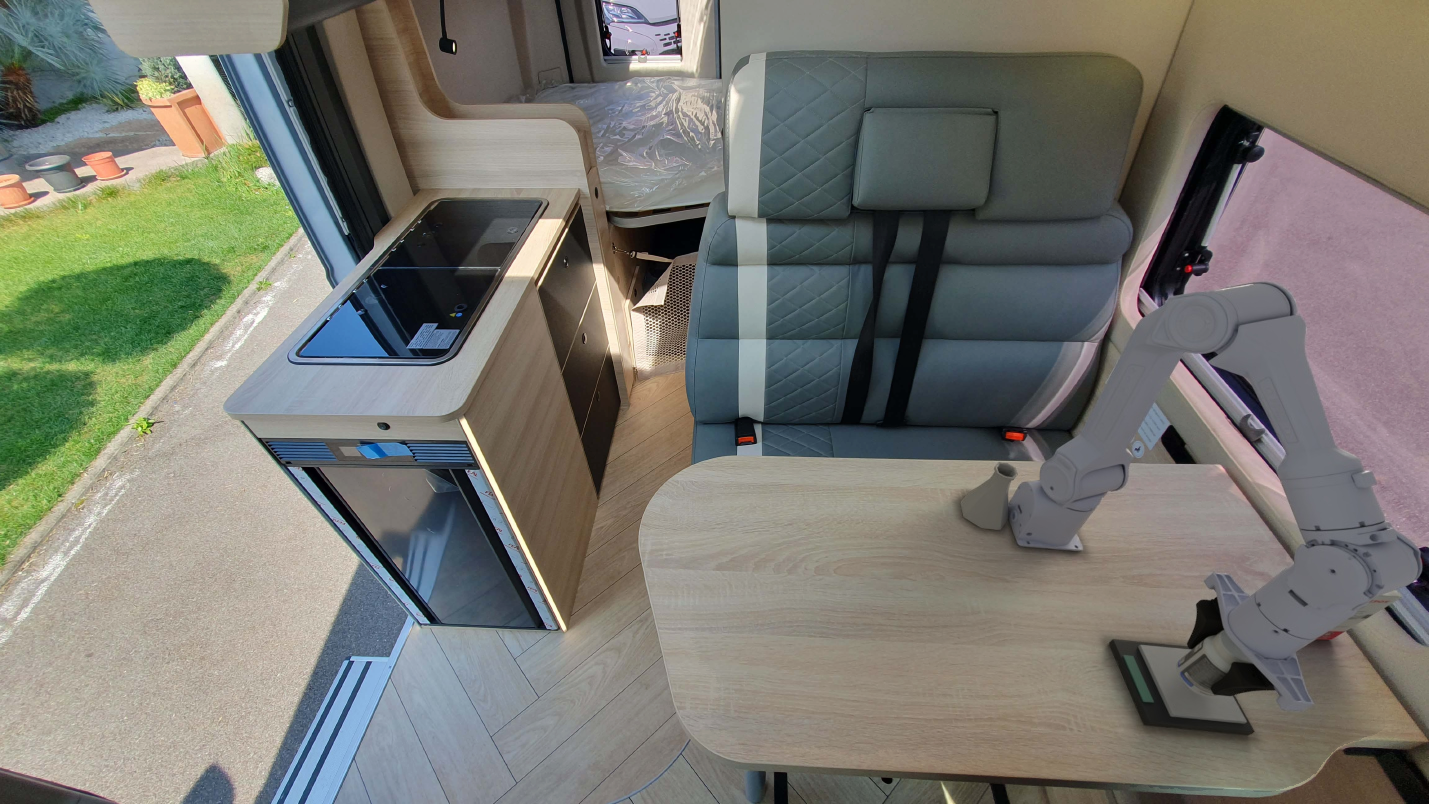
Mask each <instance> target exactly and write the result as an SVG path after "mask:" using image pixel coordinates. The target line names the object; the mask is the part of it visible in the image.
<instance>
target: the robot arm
mask: <svg viewBox="0 0 1429 804" xmlns="http://www.w3.org/2000/svg"><path fill="white" fill-rule="evenodd" d="M1307 331H1308V325H1307V322H1306V321H1305V320H1304V318H1303V316H1302V315H1301V314H1300V313H1299V314H1298V304H1297V300H1296V298H1295V296H1294V295H1293V294H1292V293H1291V291H1290V290H1289V289H1287V287H1285V286H1283V285H1281V284H1279V283H1276V282H1273V281H1268V280H1267V281H1264V280H1261V281H1254V282H1249V283H1242V284H1237V285H1231V286H1226V287H1222V288H1219V289H1214V290H1208V291H1194V292H1188V293H1183V294H1177V295H1172V296H1168V298H1167V299H1166V301H1165V303H1164V304H1163V305H1161V306H1159V307H1158V308H1156V309H1155V310H1153V311H1151V312H1150V313H1148V314H1146V315H1144V316H1143V317H1142V318H1141V319H1139V321H1138V322H1137V323H1136V325H1135V327H1134V329H1133V331H1132V333H1131V335H1130V336H1129V339H1128V341H1127V342H1126V345H1125V347H1124V348H1123V351H1122V352H1121V355H1120V356H1119V358H1118V359H1117V362H1116V364H1115V366H1114V368H1113V370H1112V372H1111V373H1110V376H1109V377H1108V380H1107V381H1106V383H1105V385H1104V387H1103V389H1102V391H1101V393H1100V395H1099V397H1098V399H1097V400H1096V402H1095V404H1094V406H1093V408H1092V410H1091V412H1090V414H1089V416H1088V418H1087V420H1086V422H1085V424H1084V426H1083V427H1082V430H1081V432H1080V433H1079V434H1078V435H1076V436H1075V437H1073V438H1072V439H1070V440H1069V441H1067V442H1066V443H1064V444H1063V445H1061V446H1059V447H1058V448H1057V449H1056V450H1055V452H1054V454H1053V455H1052V457H1050V458H1049V459H1047V460H1045V461H1044V462H1043V463H1042V464H1041V466H1040V469H1039V479H1037V480H1032V481H1031V480H1029V481H1022V482H1021V483H1020V484H1019V485H1018V487H1017V488H1016V490H1015V491H1014V493H1013V495H1012V496H1011V498H1010V500H1009V501H1008V521H1009V524H1010V527H1011V530H1012V533H1013V536H1014V538H1015V540H1016V544H1017V545H1018V546H1019V547H1024V548H1037V549H1048V550H1049V549H1050V550H1059V551H1060V550H1061V551H1073V552H1082V551H1084V546H1083V544H1082V542H1081V540H1080V538H1079V536H1078V533H1079V531H1080V530H1081V528H1082V527H1083V526H1084V525H1085V523H1086V522H1087V521H1088V520H1089V518H1090V516H1092V514H1093V513H1094V511H1095V510H1096V509H1097V507H1098V506H1099V505H1100V504H1101V502H1102V499H1103V498H1105V496H1106V495H1107V494H1108V493H1109V492H1117V491H1121V490H1122V489H1124V487H1126V485H1127V484H1128V481H1129V477H1130V476H1129V475H1130V474H1129V472H1130V471H1129V469H1130V465H1131V463H1132V461H1133V460H1134V455H1133V454H1132V452H1131V451H1130V449H1129V448H1128V447H1129V446H1130V445H1131V443H1132V441H1133V440H1134V438H1135V436H1136V435H1137V432H1138V431H1139V429H1140V427H1141V426H1142V424H1143V422H1144V421H1145V419H1146V417H1147V416H1148V414H1149V413H1150V411H1151V409H1152V407H1153V406H1154V404H1155V402H1156V401H1157V399H1158V398H1159V396H1160V394H1161V392H1162V390H1163V389H1164V387H1165V386H1166V384H1167V382H1168V381H1169V379H1170V377H1171V376H1172V375H1173V372H1174V371H1175V369H1176V367H1177V365H1178V364H1179V362H1180V361H1181V359H1182V357H1183V355H1184V354H1185V353H1187V354H1198V355H1203V354H1210V353H1213V352H1214V353H1215V354H1216V356H1214V357H1213V358H1211V359H1209V360H1208V361H1207V363H1208V364H1209V365H1211V366H1213V367H1216V368H1218V369H1221V370H1224V371H1227V372H1229V373H1233V374H1235V375H1238V376H1240V377H1244V378H1246V379H1247V380H1248V381H1249V383H1250V384H1251V386H1252V389H1253V391H1254V393H1255V394H1256V396H1257V399H1258V400H1259V402H1260V405H1261V406H1262V409H1263V411H1264V412H1265V414H1266V417H1267V418H1268V420H1269V423H1270V424H1271V426H1272V428H1273V430H1274V433H1275V434H1276V437H1277V438H1278V439H1279V440H1278V441H1279V442H1280V444H1281V446H1282V449H1283V450H1284V452H1285V455H1284V457H1283V458H1282V460H1281V461H1280V463H1279V464H1278V466H1277V468H1276V470H1275V472H1276V475H1277V476H1278V480H1279V481H1280V484H1281V487H1282V489H1283V492H1284V495H1285V498H1286V500H1287V502H1288V505H1289V507H1290V509H1291V512H1292V515H1293V517H1294V520H1295V522H1296V525H1297V527H1298V530H1299V532H1300V535H1301V537H1302V539H1303V541H1304V543H1300V544H1299V545H1298V546H1297V548H1296V549H1295V552H1294V556H1293V562H1294V563H1293V564H1290V565H1287V567H1285V568H1284V569H1282V570H1281V571H1280V572H1279V573H1277V574H1276V575H1275V576H1274V577H1272V578H1271V579H1270V580H1268V581H1267V582H1266V583H1265V584H1264V585H1262V586H1261V587H1259V589H1257V590H1256V591H1254V593H1252V594H1251V595H1250V594H1249V593H1247V592H1246V591H1245V590H1244V589H1243V588H1242V586H1241V585H1239V584H1238V583H1237V581H1236V580H1235V578H1234V577H1233V576H1232V574H1231V573H1223V572H1212V573H1210V574H1209V576H1208V577H1206V578H1205V579H1204V580H1203V583H1204V584H1205V586H1206V587H1207V589H1208V590H1214V592H1215V593H1216V597H1214V598H1211V599H1200V600H1198V601H1197V602H1196V603H1195V609H1196V615H1195V624H1194V626H1193V629H1192V632H1191V634H1190V636H1189V638H1188V640H1187V642H1186V646H1188V648H1189V649H1193V648H1195V647H1196V646H1197V645H1198V644H1200V643H1201V642H1202V641H1203V640H1205V639H1206V638H1207V637H1209V636H1213V635H1217V634H1219V633H1220V632H1221V631H1223V630H1225V632H1226V634H1227V635H1228V637H1229V638H1230V639H1231V640H1232V642H1233V643H1234V644H1235V645H1236V646H1237V647H1238V648H1239V649H1240V650H1241V651H1242V652H1243V653H1244V654H1245V655H1246V656H1247V657H1248V659H1249V660H1250V661H1251V662H1252V663H1253V664H1252V663H1242V662H1233V663H1232V664H1231V668H1230V670H1229V672H1228V673H1227V674H1226V675H1225V676H1224V677H1223V678H1222V679H1221V680H1219V681H1218V682H1216V683H1215V684H1213V685H1212V687H1211V688H1210V689H1211V691H1212V693H1213V694H1214V695H1221V696H1233V695H1235V696H1237V695H1239V694H1240V695H1241V694H1245V693H1251V692H1263V691H1264V692H1265V691H1266V692H1267V691H1273V692H1274V691H1275V692H1276V693H1277V695H1278V697H1277V698H1276V699H1275V702H1276V703H1277V705H1278V707H1279V709H1280V710H1281V711H1288V712H1297V713H1298V712H1299V713H1302V712H1305V711H1306V710H1308V709H1310V708H1311V707H1314V706H1316V704H1315V702H1314V700H1313V698H1312V697H1311V696H1310V693H1309V692H1308V688H1307V686H1306V683H1305V680H1304V676H1303V673H1302V669H1301V666H1300V662H1299V659H1298V656H1297V652H1298V651H1301V649H1303V648H1304V647H1306V646H1308V645H1309V644H1311V643H1313V642H1314V641H1316V639H1317V638H1319V637H1320V636H1322V635H1324V634H1325V633H1327V632H1328V631H1330V630H1331V629H1333V628H1335V627H1336V626H1338V625H1339V624H1341V623H1342V622H1344V621H1345V620H1347V619H1349V618H1350V617H1352V616H1353V615H1354V614H1355V613H1356V612H1357V611H1358V610H1360V609H1362V608H1364V607H1365V606H1366V605H1367V604H1368V602H1370V601H1371V600H1373V599H1375V598H1376V597H1378V596H1380V595H1383V594H1386V593H1388V592H1391V591H1394V590H1397V591H1398V590H1399V589H1402V588H1404V587H1407V586H1409V585H1410V584H1412V583H1414V582H1415V581H1417V580H1418V579H1419V577H1420V576H1421V574H1422V573H1423V562H1422V558H1421V555H1422V554H1421V553H1422V552H1421V550H1420V549H1419V547H1418V546H1417V545H1416V544H1415V543H1414V542H1413V541H1412V540H1411V539H1410V538H1408V537H1407V536H1406V535H1404V534H1402V533H1401V532H1399V531H1398V530H1396V528H1394V527H1393V525H1392V523H1391V521H1389V520H1387V519H1386V517H1385V515H1384V512H1383V510H1382V508H1381V505H1380V503H1379V500H1378V498H1377V496H1376V493H1375V491H1374V489H1373V487H1374V486H1377V485H1378V481H1377V479H1376V477H1375V474H1374V471H1372V470H1365V468H1364V466H1363V463H1362V461H1361V459H1360V457H1358V456H1357V455H1356V454H1353V453H1351V452H1350V451H1347V450H1345V449H1342V448H1341V447H1339V446H1337V445H1336V443H1335V440H1334V436H1333V434H1332V430H1331V427H1330V425H1329V421H1328V418H1327V415H1326V412H1325V409H1324V405H1323V403H1322V400H1321V397H1320V394H1319V390H1318V386H1317V384H1316V381H1315V378H1314V375H1313V372H1312V369H1311V366H1310V361H1309V359H1308V356H1307V353H1306V341H1307Z"/></svg>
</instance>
